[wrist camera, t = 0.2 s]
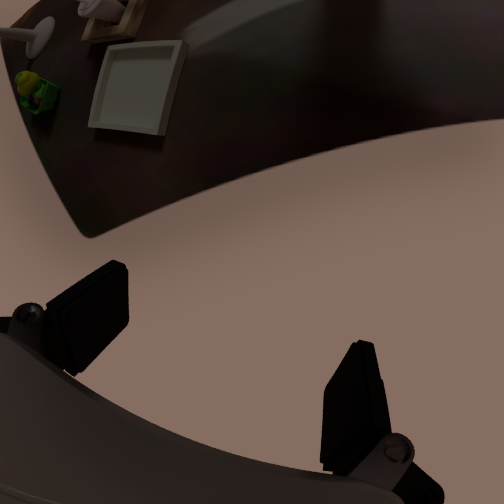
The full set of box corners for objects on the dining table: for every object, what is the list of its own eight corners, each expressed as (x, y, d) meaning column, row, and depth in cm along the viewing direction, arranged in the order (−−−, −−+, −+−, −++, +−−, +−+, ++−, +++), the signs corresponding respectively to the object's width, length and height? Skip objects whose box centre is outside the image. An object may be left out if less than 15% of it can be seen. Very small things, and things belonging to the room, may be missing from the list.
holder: (110, -2, 30) (100, -7, 26) (155, -12, 28) (146, -19, 25) (91, 44, 34) (80, 41, 31) (135, 37, 33) (123, 32, 30)
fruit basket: (34, 103, 41) (-1, 104, 31) (46, 69, 38) (11, 66, 27) (53, 115, 41) (14, 116, 31) (68, 78, 38) (28, 74, 27)
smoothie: (108, 14, 31) (61, -4, 18) (133, -2, 29) (88, -27, 17) (110, 34, 33) (60, 17, 20) (136, 17, 31) (88, -7, 19)
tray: (116, 48, 34) (108, 45, 32) (189, 45, 33) (182, 40, 30) (96, 126, 40) (87, 126, 38) (165, 135, 39) (156, 135, 37)
